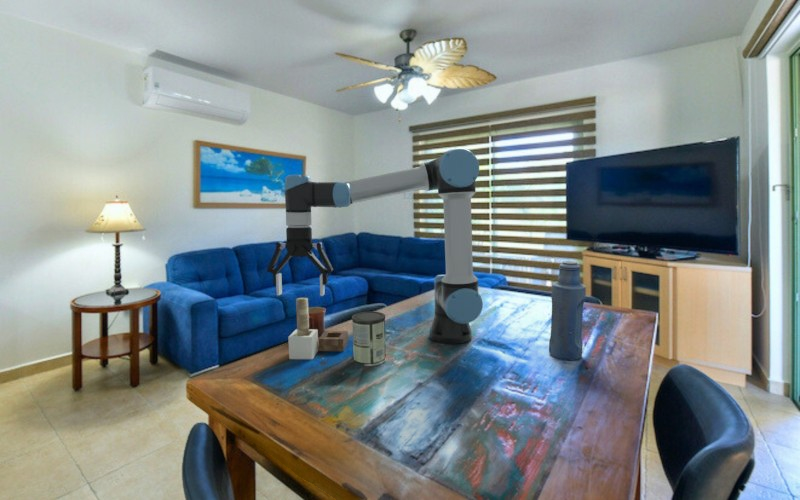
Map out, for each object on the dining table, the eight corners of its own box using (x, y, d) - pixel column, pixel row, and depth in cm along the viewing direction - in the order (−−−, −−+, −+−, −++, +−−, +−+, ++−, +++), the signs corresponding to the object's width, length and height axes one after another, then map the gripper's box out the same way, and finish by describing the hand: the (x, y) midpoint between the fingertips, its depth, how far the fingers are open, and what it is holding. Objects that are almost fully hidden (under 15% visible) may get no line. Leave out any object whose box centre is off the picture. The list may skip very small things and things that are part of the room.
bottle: (556, 346, 127) (559, 258, 123) (587, 354, 120) (591, 261, 116) (543, 355, 120) (547, 261, 116) (575, 363, 113) (580, 265, 109)
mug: (308, 332, 143) (307, 306, 142) (330, 334, 142) (329, 307, 140) (293, 343, 132) (292, 315, 130) (317, 345, 130) (316, 316, 129)
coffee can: (361, 351, 124) (360, 310, 122) (390, 355, 121) (390, 312, 119) (347, 364, 114) (345, 319, 113) (378, 368, 111) (377, 322, 109)
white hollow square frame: (318, 353, 123) (317, 329, 122) (312, 362, 116) (311, 337, 115) (296, 352, 123) (295, 329, 122) (289, 362, 116) (288, 337, 115)
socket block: (348, 345, 130) (347, 331, 129) (343, 354, 122) (343, 339, 121) (325, 344, 130) (324, 330, 130) (319, 353, 122) (318, 339, 122)
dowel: (311, 352, 121) (309, 297, 119) (308, 356, 118) (306, 300, 116) (300, 352, 121) (298, 297, 119) (296, 356, 118) (294, 300, 116)
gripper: (341, 226, 118) (342, 292, 120) (263, 225, 119) (266, 291, 121) (336, 227, 110) (338, 298, 113) (253, 227, 112) (256, 297, 114)
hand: (300, 294), depth 117 cm, fingers open, 13 cm apart
